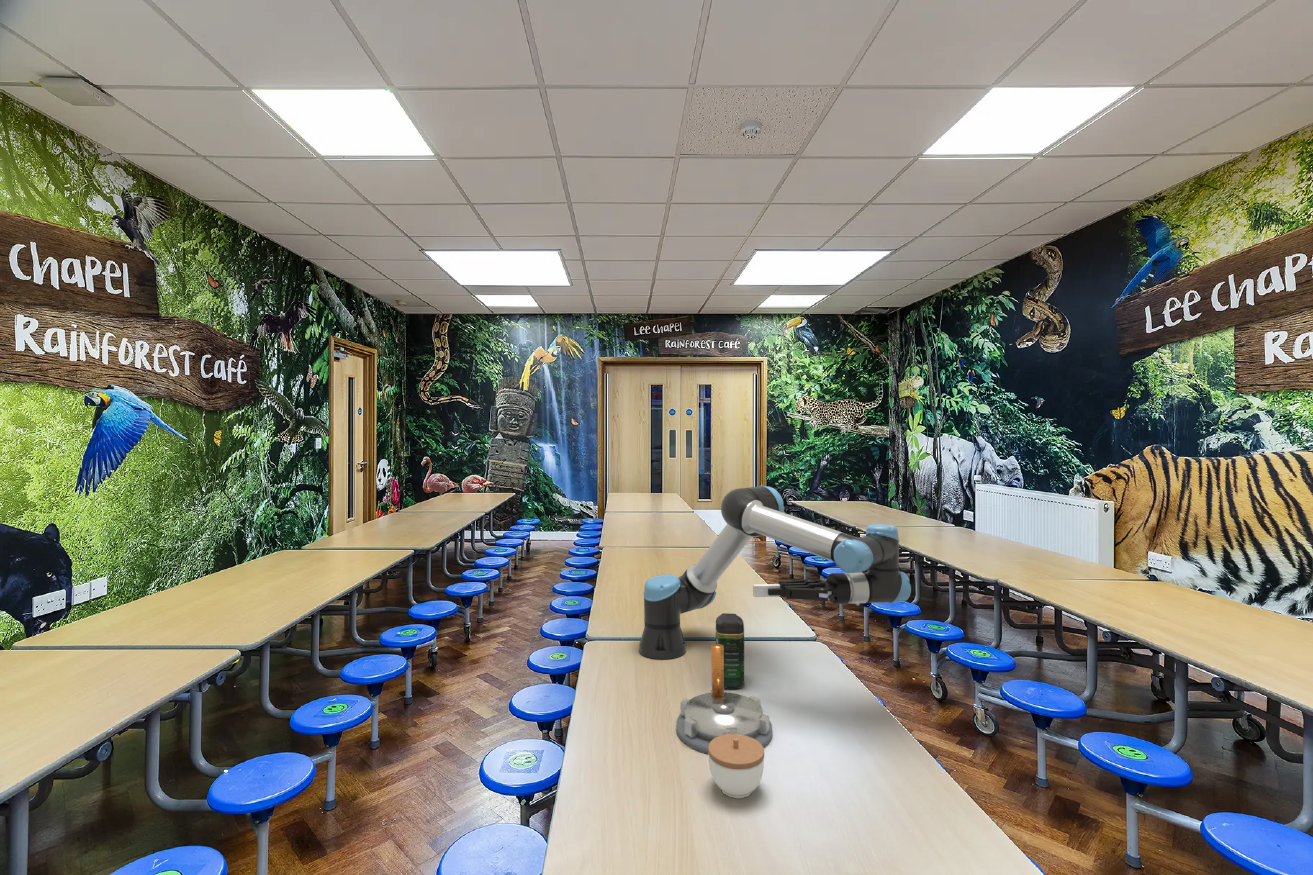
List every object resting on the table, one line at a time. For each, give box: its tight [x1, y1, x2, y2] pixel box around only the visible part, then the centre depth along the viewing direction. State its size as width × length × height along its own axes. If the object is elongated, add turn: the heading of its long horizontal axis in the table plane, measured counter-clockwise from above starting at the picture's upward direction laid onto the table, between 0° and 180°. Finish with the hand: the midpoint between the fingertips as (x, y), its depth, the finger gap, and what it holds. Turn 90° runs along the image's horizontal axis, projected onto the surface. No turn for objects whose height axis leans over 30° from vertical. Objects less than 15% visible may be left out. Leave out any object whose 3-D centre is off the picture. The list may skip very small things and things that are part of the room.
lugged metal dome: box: [679, 643, 770, 741], centre depth 128 cm, size 21×19×15 cm
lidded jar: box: [707, 734, 765, 799], centre depth 106 cm, size 11×11×9 cm
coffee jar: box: [715, 612, 745, 690], centre depth 154 cm, size 10×8×19 cm
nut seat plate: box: [676, 713, 773, 755], centre depth 128 cm, size 22×22×2 cm
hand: (753, 590), depth 138 cm, fingers closed
